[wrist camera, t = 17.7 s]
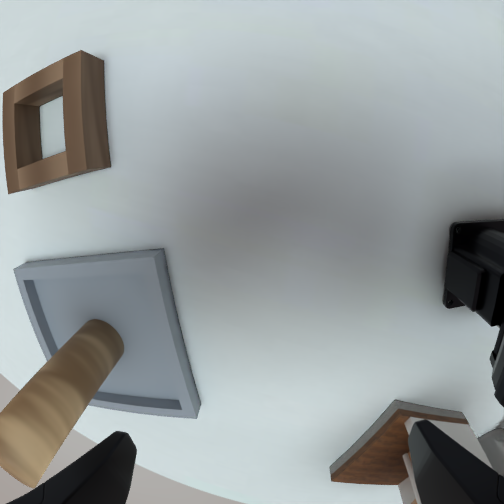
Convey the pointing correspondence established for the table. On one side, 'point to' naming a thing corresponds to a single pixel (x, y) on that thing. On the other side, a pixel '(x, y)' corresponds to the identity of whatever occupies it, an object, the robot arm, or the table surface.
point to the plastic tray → (117, 325)
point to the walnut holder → (75, 123)
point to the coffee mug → (494, 448)
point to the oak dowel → (56, 400)
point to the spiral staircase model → (399, 448)
